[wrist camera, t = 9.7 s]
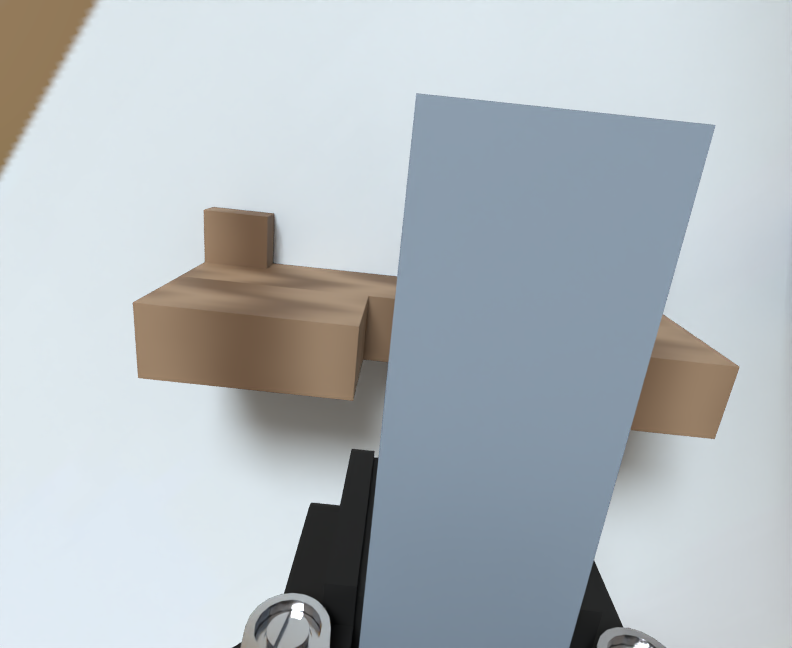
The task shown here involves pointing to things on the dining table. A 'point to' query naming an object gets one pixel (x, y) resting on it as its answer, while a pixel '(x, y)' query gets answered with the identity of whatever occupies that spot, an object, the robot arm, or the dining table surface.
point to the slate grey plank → (517, 362)
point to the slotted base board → (348, 331)
